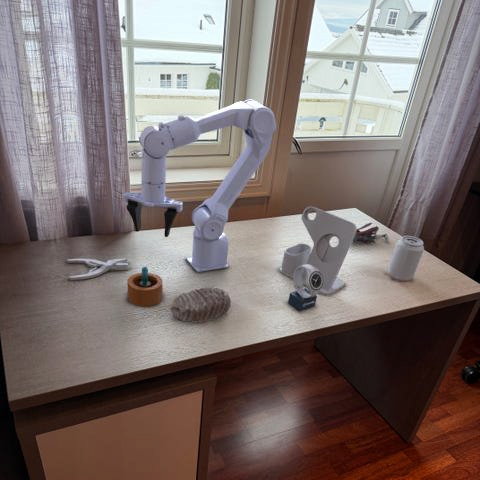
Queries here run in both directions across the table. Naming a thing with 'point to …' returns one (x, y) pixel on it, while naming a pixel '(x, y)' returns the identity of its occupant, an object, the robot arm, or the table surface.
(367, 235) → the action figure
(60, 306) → the table surface
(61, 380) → the table surface
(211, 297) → the seashell
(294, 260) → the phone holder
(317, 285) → the watch
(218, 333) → the table surface
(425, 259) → the table surface
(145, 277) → the brush
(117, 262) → the pliers
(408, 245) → the can
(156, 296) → the orange flowerpot
